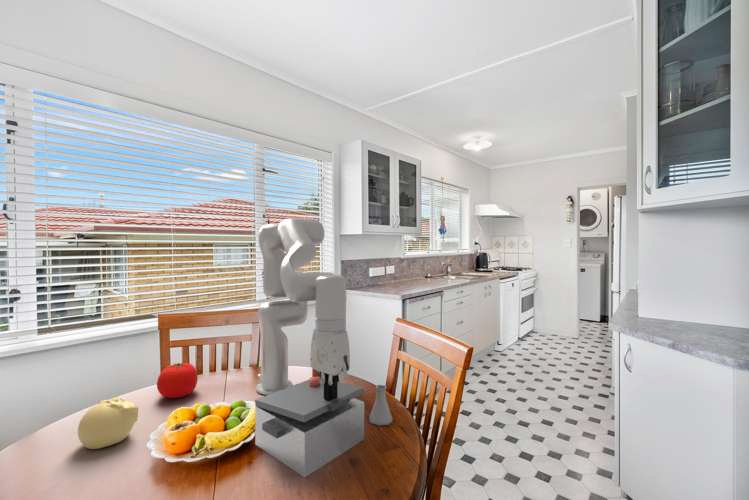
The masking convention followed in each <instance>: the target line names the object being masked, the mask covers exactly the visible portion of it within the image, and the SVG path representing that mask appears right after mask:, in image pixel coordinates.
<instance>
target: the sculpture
mask: <svg viewBox="0 0 749 500" xmlns="http://www.w3.org/2000/svg"><path fill="white" fill-rule="evenodd" d="M138 412H139V407H138V405H137V404H135V403H132V402H130V401H128V400H125V399H123V398H121V397H118V396H117V397H114V398H110V399H103V400H99V402H98V403H97V404H96V405H94V406H93V407H91V408H89V410H87V411H86V412H85V414H84V415H83V416H82V418H81V419H80V421H79V424H78V427H77V436H78V437H77V438H78V440H79V442H80V443H81V444H82V445H83V446H84V447H85V448H86V449H90V450H97V449H103V448H105V447H106V448H107V447H109V446H112V445H114V444H118V443H120V442H122V441H123V440H125V439H126V438H127V437H128V435H129V434H130V433H131V432H132V429H133V427H134V425H135V424H136V422H138V417H139V413H138Z"/></svg>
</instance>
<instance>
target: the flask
mask: <svg viewBox="0 0 749 500" xmlns="http://www.w3.org/2000/svg"><path fill="white" fill-rule="evenodd" d="M375 389H376V395H375V400H374V403H373V406H372V409H371V411H370V414H369V418H368V419H369V423H370V424H372V425H376V426H388V425H390V424H391V423H392V422H394V419H393V416H392V413H391V410H390V406H389V404H388V401H387V395H386V390H387V385H385V384H377V385H376V386H375Z"/></svg>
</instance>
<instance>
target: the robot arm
mask: <svg viewBox="0 0 749 500" xmlns="http://www.w3.org/2000/svg"><path fill="white" fill-rule="evenodd" d="M257 237H258V245H259V249H260V251H261V255H262V259H263V260H262V261H263V262H262V263H263V266H262V267H263V269H262V274H263V275H262V290H263V294H264V295H265V296H266V297H268V298H273V299H277V298H288V299H286V300H285V299H284V300H283V299H282V300H272V301H267V302H264V303H262V304H261V305H260V306H259V307H258V311H257V316H258V317H257V319H258V323H259V331H260V373H259V374H257V378H258V379H260V380H259V383H258V384H256V387H255V391H256V392H257V393H258V394H260V395H263V396H267V395H269V394H272V393H275V392H277V391H280V390H283V389H285V388H288V387H291V386H293V382H292V381H291V380H289V339H288V336H287V334H286V333H285V332H284V331H283V330H282V328H286V327H290V326H291V327H292V326H299V325H302V324H304V323H305V322H306V321H307V317H308V304H309V302H315V318H314V319H315V320H314V322H315V328H314V329H313V331H312V334H311V335H312V337H311V344H310V357H309V358H310V359H309V361H310V362H309V363H310V367H311V369H312V368H313V369H315V370H316V371H317V372H319V373H320V375H321V377H322V382H323V383H324V399H325V400H327V401H330V400H333V399H335V398H337V396H338V382H339V383H340V381H344V380H346V379H348V378H349V376H348V372H349V370H350V366H351V354H350V349H351V348H350V340H349V334H348V331H347V282H346V281H347V280H346V278H345V276H343V275H341V274H335V273H333V272H327V271H324V272H323V271H322V272H318V271H317V272H303V271H302V270H298V269H300V268H303V267H305V266H307V265H308V264H310V263H311V262H313V260H314V259H315V257H316V255H317V247H316V246H319V245H321V244H322V243H323V241H324V238H325V228H324V226H323V224H322V223H321V222H320V221H319V220H318V219H312V218H297V217H293V218H292V217H291V218H286V219H283V221H281V222H280V223H274V224H272V223H270V224H264V225H263V226H261V228H260V229H259V231H258V236H257ZM283 249H284V250H285V252H284V250H283Z"/></svg>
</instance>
